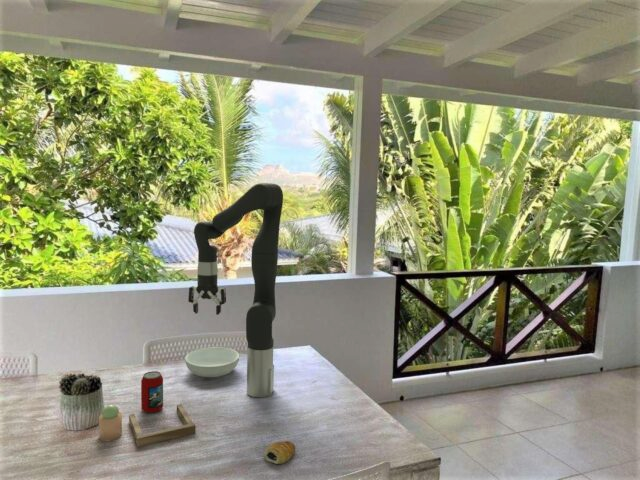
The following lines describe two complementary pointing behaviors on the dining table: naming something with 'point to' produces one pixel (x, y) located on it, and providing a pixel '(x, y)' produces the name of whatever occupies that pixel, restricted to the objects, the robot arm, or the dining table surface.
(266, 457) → the pastry
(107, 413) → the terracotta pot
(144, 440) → the corral
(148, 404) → the beverage can
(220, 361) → the serving bowl
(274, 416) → the dining table surface
